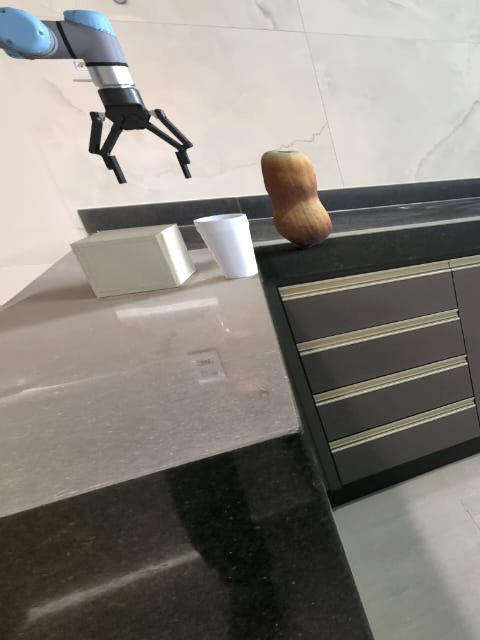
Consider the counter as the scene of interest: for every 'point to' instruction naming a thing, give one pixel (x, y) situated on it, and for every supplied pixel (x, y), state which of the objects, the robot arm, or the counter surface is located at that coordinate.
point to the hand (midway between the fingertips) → (156, 180)
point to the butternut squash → (295, 198)
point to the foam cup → (229, 243)
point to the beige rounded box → (134, 259)
